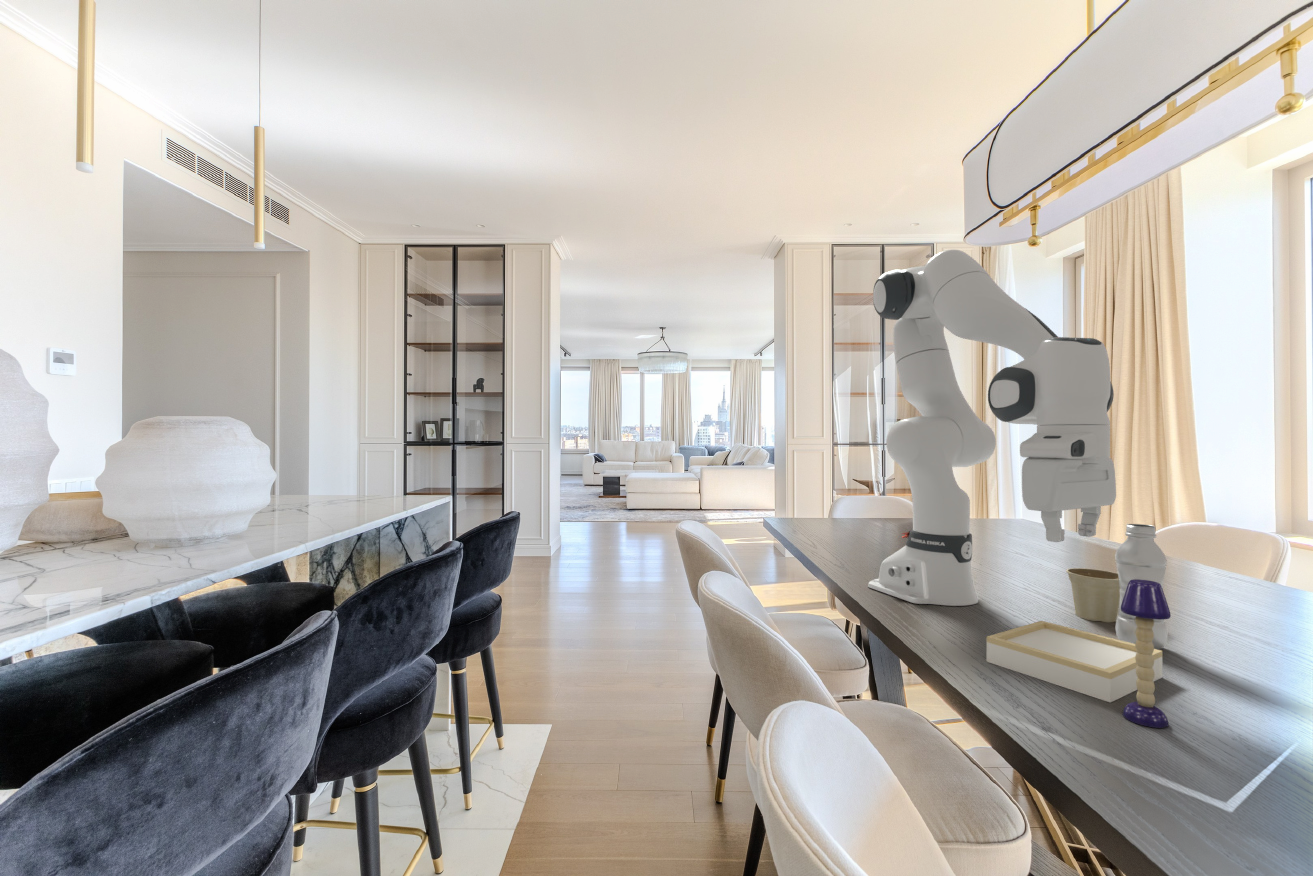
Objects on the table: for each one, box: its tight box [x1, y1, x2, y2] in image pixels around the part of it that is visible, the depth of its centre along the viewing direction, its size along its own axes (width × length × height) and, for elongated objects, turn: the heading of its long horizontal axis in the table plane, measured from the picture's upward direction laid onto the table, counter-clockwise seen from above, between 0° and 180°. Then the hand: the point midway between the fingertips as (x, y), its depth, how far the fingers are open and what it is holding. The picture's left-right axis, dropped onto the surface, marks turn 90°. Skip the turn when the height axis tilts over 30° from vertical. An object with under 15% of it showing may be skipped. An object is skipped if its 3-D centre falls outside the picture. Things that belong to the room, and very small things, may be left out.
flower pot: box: [1065, 567, 1120, 623], centre depth 111 cm, size 9×9×9 cm
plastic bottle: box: [1114, 523, 1169, 650], centre depth 95 cm, size 6×7×20 cm
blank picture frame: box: [986, 620, 1163, 703], centre depth 86 cm, size 16×16×4 cm
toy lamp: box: [1121, 579, 1171, 729], centre depth 70 cm, size 5×5×17 cm
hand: (1071, 538), depth 86 cm, fingers open, 8 cm apart
